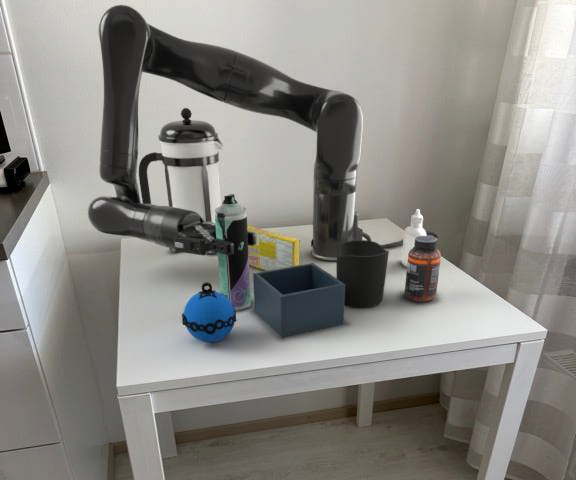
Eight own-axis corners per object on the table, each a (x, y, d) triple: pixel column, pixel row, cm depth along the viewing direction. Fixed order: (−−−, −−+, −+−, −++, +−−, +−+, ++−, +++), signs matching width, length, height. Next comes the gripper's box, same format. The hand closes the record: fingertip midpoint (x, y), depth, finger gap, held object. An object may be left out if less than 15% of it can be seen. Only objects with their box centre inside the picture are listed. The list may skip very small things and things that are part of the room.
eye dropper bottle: (402, 269, 120) (408, 213, 114) (400, 260, 125) (406, 206, 118) (423, 270, 120) (430, 213, 113) (420, 261, 124) (427, 206, 118)
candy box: (300, 278, 116) (300, 239, 112) (293, 281, 115) (292, 241, 110) (248, 260, 126) (247, 223, 121) (241, 262, 125) (239, 225, 120)
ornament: (235, 326, 97) (231, 271, 92) (239, 349, 90) (235, 291, 84) (185, 330, 96) (178, 275, 91) (185, 354, 89) (178, 295, 83)
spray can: (246, 311, 102) (240, 199, 91) (217, 309, 103) (208, 198, 92) (254, 299, 107) (249, 191, 96) (226, 297, 108) (218, 190, 97)
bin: (312, 299, 107) (312, 262, 103) (343, 324, 97) (345, 284, 94) (254, 311, 102) (252, 273, 99) (281, 337, 93) (280, 297, 89)
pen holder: (390, 294, 108) (394, 243, 103) (376, 313, 101) (380, 259, 96) (344, 287, 112) (346, 237, 107) (327, 304, 104) (329, 252, 99)
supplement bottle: (437, 292, 109) (445, 235, 103) (433, 304, 104) (441, 245, 98) (406, 289, 111) (412, 232, 105) (401, 300, 106) (407, 241, 100)
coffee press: (212, 232, 144) (201, 102, 128) (240, 249, 132) (232, 108, 117) (147, 244, 137) (127, 107, 121) (171, 263, 125) (152, 114, 109)
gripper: (142, 217, 98) (215, 233, 90) (198, 199, 108) (268, 212, 100) (148, 258, 102) (218, 277, 94) (201, 238, 112) (269, 253, 104)
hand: (243, 244), depth 97 cm, fingers closed on spray can, 5 cm apart
